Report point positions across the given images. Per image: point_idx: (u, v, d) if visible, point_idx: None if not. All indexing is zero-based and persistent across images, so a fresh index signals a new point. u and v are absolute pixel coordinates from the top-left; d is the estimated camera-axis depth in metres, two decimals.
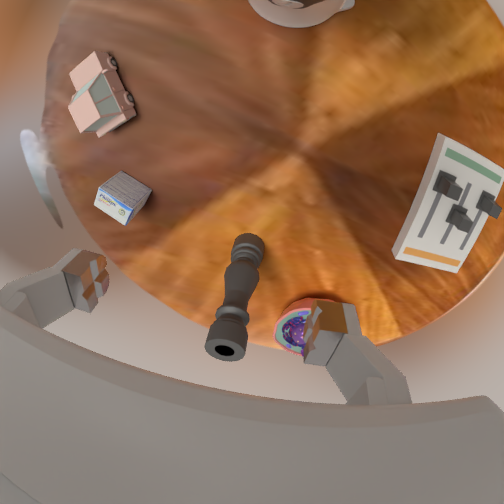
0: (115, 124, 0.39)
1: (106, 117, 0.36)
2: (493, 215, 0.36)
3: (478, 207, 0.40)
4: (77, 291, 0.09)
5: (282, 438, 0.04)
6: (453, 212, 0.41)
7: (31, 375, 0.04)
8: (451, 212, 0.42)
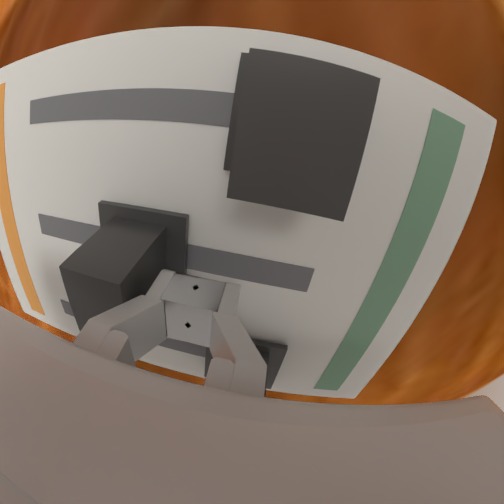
0: None
1: None
2: None
3: None
4: (178, 320, 0.08)
5: (282, 438, 0.04)
6: (146, 225, 0.10)
7: (31, 375, 0.04)
8: (144, 214, 0.10)
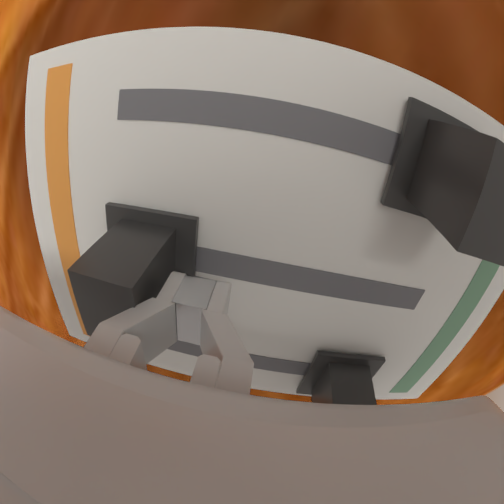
0: None
1: None
2: None
3: (320, 361, 0.13)
4: (189, 323, 0.08)
5: (282, 438, 0.04)
6: (155, 227, 0.10)
7: (31, 375, 0.04)
8: (153, 216, 0.10)
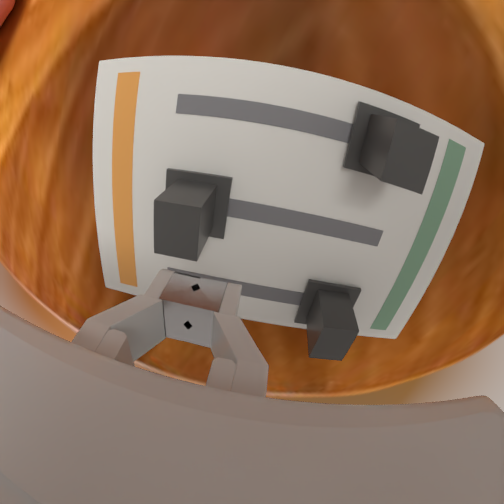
0: None
1: None
2: (320, 342, 0.17)
3: (311, 288, 0.19)
4: (177, 320, 0.08)
5: (282, 438, 0.04)
6: (203, 183, 0.16)
7: (31, 375, 0.04)
8: (202, 176, 0.16)
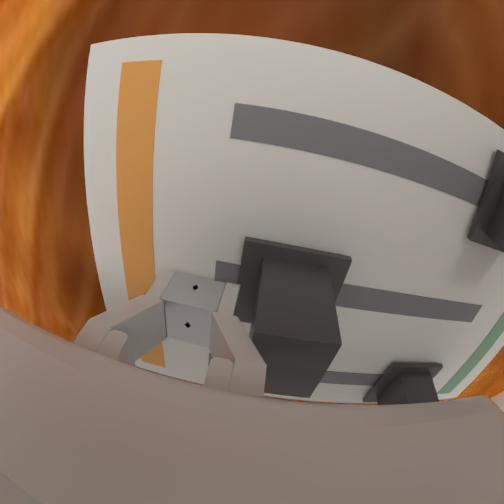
0: None
1: None
2: None
3: (393, 372, 0.13)
4: (178, 320, 0.08)
5: (282, 438, 0.04)
6: (309, 267, 0.10)
7: (31, 375, 0.04)
8: (306, 255, 0.10)
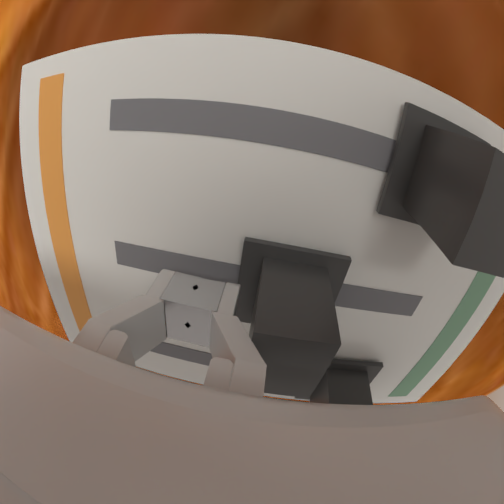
0: None
1: None
2: None
3: None
4: (178, 320, 0.08)
5: (282, 438, 0.04)
6: (309, 268, 0.10)
7: (31, 375, 0.04)
8: (306, 255, 0.10)
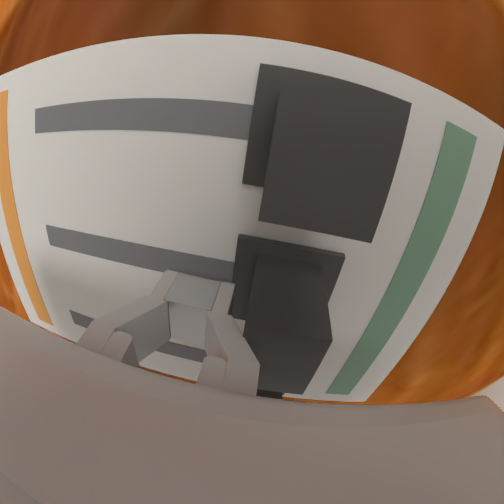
0: None
1: None
2: None
3: None
4: (182, 321, 0.08)
5: (282, 438, 0.04)
6: (302, 264, 0.10)
7: (31, 375, 0.04)
8: (299, 252, 0.10)
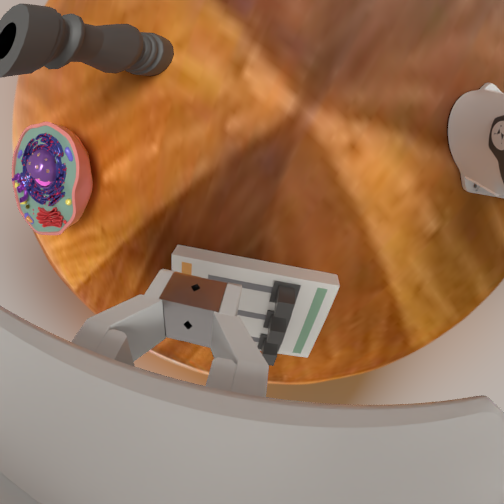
0: None
1: None
2: None
3: (262, 337, 0.48)
4: (177, 320, 0.08)
5: (282, 438, 0.04)
6: None
7: (31, 375, 0.04)
8: None
